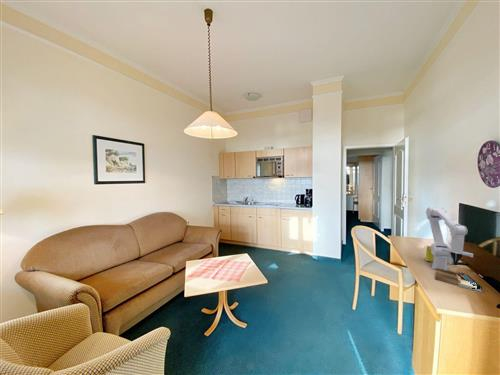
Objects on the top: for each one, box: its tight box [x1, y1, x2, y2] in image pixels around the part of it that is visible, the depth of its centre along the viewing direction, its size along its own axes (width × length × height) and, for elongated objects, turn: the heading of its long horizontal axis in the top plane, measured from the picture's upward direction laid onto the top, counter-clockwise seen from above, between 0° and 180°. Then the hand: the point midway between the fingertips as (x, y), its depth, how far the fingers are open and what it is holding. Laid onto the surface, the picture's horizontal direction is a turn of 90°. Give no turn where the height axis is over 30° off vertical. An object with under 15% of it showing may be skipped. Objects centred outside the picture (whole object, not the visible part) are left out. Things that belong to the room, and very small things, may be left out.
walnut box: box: [434, 268, 458, 286], centre depth 133 cm, size 10×10×4 cm
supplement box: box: [425, 245, 434, 264], centre depth 160 cm, size 6×6×11 cm
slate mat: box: [457, 283, 483, 294], centre depth 126 cm, size 12×10×1 cm
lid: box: [457, 275, 477, 289], centre depth 127 cm, size 7×8×3 cm
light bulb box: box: [447, 246, 456, 265], centre depth 159 cm, size 11×7×11 cm, turn 113°
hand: (455, 264), depth 134 cm, fingers closed
